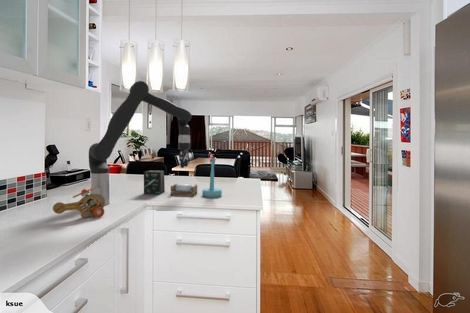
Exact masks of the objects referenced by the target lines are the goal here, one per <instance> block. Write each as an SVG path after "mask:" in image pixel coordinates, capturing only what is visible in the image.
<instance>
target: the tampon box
mask: <svg viewBox="0 0 470 313" xmlns="http://www.w3.org/2000/svg"><path fill="white" fill-rule="evenodd" d="M165 184H166V182H165V170H145V171H143V194H144V195H162V194H163V193H165V192H166V190H165V188H166V187H165Z"/></svg>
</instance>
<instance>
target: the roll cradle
mask: <svg viewBox="0 0 470 313" xmlns="http://www.w3.org/2000/svg"><path fill="white" fill-rule="evenodd" d="M177 184H178V183H174V184H172V185H170V196H172V195H178V197H194V196H196V195H197V194H198V184H197V183H196V184H194V185H192V192H181V191H176V185H177Z"/></svg>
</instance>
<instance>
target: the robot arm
mask: <svg viewBox="0 0 470 313" xmlns="http://www.w3.org/2000/svg"><path fill="white" fill-rule="evenodd" d="M149 90H150V88H149V85H148V83H146V82H145V81H143V80H138V81H136V82H134V83H133V84H132V85H131V86H130V87H129V93H128V95H127V97H126V99H125V100H124V101H123V102H122V103H121V104H120V105H119V107H117V109H116V110H115V112H114V113H113V114H112V116H111V118H110V120H109V121H108V126H107V130H106V132H105V134H104V136H103V137H102V139H101V140H100V141H98V142H95V143H93V144H91V146H89V149H88V166H89V170H90V171H89V172H90V188H89V189H91V188H94V187H97V188H95V189H93V190H90V191H89V192H90V193H89V194H99V195H102V196H103V197H104V199H105V205H104V206H107V205H109V204H110V203H111V202H110V201H111V200H110V197H111V196H110V167H109V166H108V162H107V160H108V159H109V158H110V157H111V155H112V154H113V153H112V152H113V151H114V148H116V145H117V143H118V141H119V140H120V138H121V136H122V135H123V134H124V131H125V130H126V129H127V127H128V125H129V124H130V123H131V121H132V119H133V117H134V116H135V113H136V111H137V109H138V107H139V106H140V104H141V103H142V102H144V103H147V104H148V105H151V106H153V107H156V108H157V109H159V110H161V111H163V112H165V113H166V114H168V115H170V116H174V117H175V118H177V125H178V146H177V147H178V150H180V151H179V152H178V154H179V156H178V158H179V160H178V161H179V162H180V169H184V168H185V167H188V165H189V160H190V157H189V156H190V155H189V154H190V151H189V150H191V128H190V126H189V123H188V122H190V121H191V119H192V113H191V112H190V111H189V110H188V109H185V108H184V107H180V106H178V105H176V104H175V103H173V102H171V101H169V100H167V99H165V98H162V97H159V96H156V95H155V94H152V93H151V92H149ZM91 199H94V198H91ZM94 200H95V201H96V199H94ZM96 203H98V202H97V201H96ZM98 204H99V203H98ZM99 205H100V204H99Z"/></svg>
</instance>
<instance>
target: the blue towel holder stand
mask: <svg viewBox="0 0 470 313" xmlns="http://www.w3.org/2000/svg"><path fill="white" fill-rule="evenodd" d="M216 160H217V159H216V158H212V160H211V163H210V166H211V167H210V168H211V169H210V175H209V177H210V181H209V187H207V188H203V189H202V192H201V194H202V197H204V198H219V197H221V196H222V194H223V193H222V189H220V188H216V187H215V165H216Z"/></svg>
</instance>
